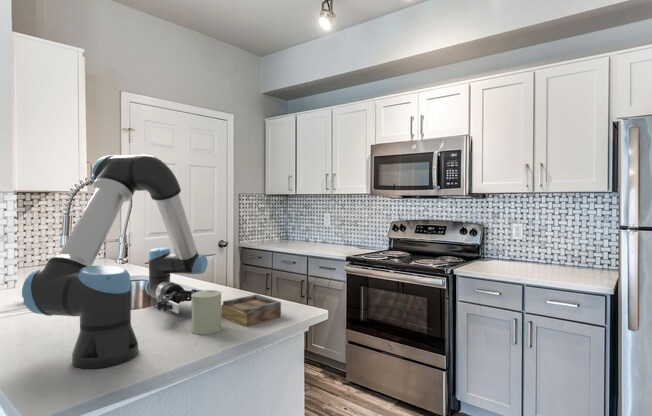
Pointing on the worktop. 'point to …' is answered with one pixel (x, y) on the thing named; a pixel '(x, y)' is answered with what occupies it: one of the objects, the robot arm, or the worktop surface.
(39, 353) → the worktop surface
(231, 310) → the brown wooden tray
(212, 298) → the can
